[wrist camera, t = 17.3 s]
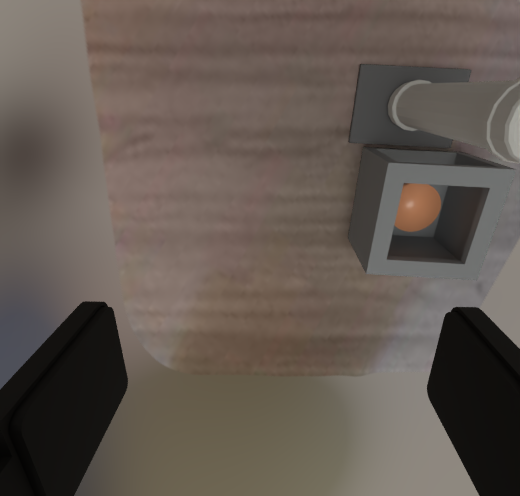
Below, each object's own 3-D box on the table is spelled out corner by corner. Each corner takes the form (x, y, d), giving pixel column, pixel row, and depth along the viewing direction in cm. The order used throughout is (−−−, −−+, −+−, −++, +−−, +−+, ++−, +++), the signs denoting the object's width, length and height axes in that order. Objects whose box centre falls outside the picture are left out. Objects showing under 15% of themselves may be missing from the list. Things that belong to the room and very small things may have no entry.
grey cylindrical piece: (436, 117, 43) (720, 166, 16) (386, 138, 44) (569, 219, 17) (425, 71, 41) (731, 38, 14) (374, 95, 42) (558, 109, 15)
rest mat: (360, 64, 41) (361, 64, 41) (469, 69, 41) (471, 69, 41) (348, 142, 45) (349, 142, 44) (448, 147, 45) (450, 148, 44)
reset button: (387, 176, 45) (394, 181, 42) (436, 178, 45) (447, 184, 42) (378, 222, 48) (384, 230, 45) (424, 224, 47) (433, 233, 45)
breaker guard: (363, 146, 45) (388, 162, 35) (462, 152, 45) (516, 169, 35) (347, 237, 51) (366, 273, 41) (436, 242, 50) (476, 280, 40)
